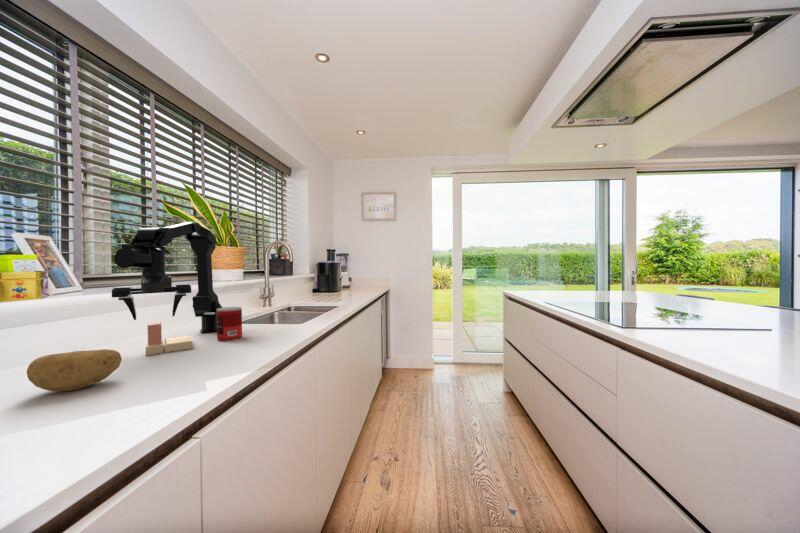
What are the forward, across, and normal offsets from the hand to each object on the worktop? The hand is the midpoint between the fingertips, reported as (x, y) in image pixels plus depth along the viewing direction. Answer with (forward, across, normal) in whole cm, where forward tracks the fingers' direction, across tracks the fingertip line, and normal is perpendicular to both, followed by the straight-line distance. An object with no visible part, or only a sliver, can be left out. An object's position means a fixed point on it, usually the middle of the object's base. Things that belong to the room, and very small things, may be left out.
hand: (154, 317), depth 93 cm
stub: (+10, 0, 0) cm, 10 cm away
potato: (+10, -12, -27) cm, 32 cm away
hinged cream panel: (+10, +6, 0) cm, 12 cm away
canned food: (+10, +21, +2) cm, 23 cm away
